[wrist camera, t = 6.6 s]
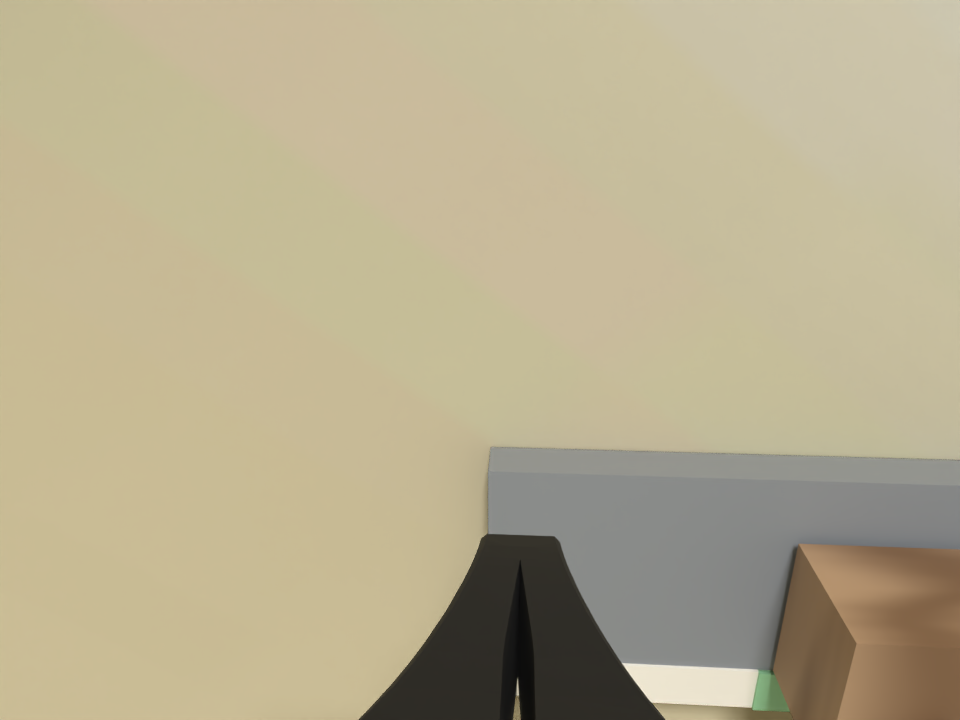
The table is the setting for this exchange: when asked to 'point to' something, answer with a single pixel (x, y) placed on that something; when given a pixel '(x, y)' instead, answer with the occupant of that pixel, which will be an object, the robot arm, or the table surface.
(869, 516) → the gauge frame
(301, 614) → the table surface
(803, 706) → the block
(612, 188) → the table surface
